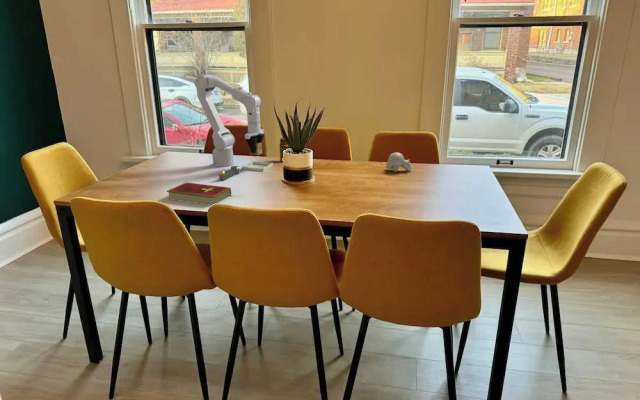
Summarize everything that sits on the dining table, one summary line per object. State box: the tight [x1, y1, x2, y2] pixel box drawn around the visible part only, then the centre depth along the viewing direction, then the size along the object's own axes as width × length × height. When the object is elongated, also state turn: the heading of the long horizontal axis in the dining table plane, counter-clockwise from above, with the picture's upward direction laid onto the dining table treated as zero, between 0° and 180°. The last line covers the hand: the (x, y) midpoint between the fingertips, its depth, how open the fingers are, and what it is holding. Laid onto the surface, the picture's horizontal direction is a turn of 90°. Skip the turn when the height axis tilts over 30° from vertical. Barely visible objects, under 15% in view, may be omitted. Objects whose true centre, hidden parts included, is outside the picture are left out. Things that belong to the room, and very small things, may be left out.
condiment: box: [279, 137, 288, 162], centre depth 216 cm, size 7×8×12 cm
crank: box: [218, 165, 240, 182], centre depth 192 cm, size 13×4×4 cm, turn 160°
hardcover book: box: [166, 182, 232, 206], centre depth 168 cm, size 12×21×4 cm, turn 69°
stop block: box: [248, 142, 263, 156], centre depth 202 cm, size 4×4×5 cm
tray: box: [241, 161, 274, 172], centre depth 206 cm, size 11×11×2 cm
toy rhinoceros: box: [385, 151, 414, 173], centre depth 199 cm, size 7×12×8 cm, turn 80°
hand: (255, 151), depth 203 cm, fingers closed on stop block, 4 cm apart
